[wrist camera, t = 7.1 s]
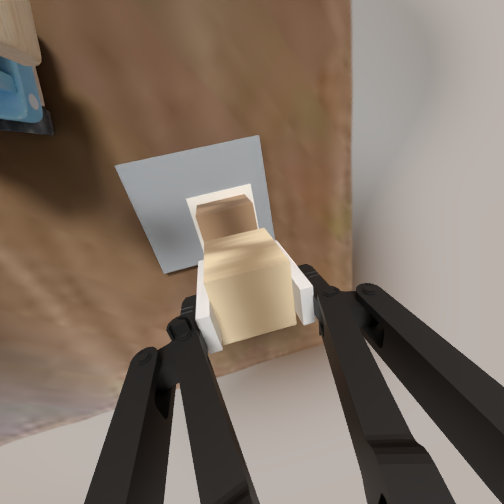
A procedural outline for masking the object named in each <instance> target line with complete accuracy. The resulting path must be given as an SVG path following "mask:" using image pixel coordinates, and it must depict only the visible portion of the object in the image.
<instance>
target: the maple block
mask: <svg viewBox="0 0 504 504" xmlns="http://www.w3.org/2000/svg"><path fill="white" fill-rule="evenodd" d="M291 277H292V275H291V266H290V260H289V259H288V258H287V257H286V255H285V254H284V253H283V251H282V250H281V249H280V247H279V246H278V245H277V243H276V242H275V241H274V240H273V238H272V237H271V236H270V234H269V233H268V232H267V230H266V229H265V228H261V229H256V230H252V231H248V232H244V233H239V234H235V235H231V236H227V237H222V238H218V239H214V240H209V241H205V242H204V280H203V283H204V286H205V289H206V292H207V295H208V298H209V301H210V303H211V306H212V309H213V312H214V314H215V317H216V320H217V323H218V325H219V328H220V331H221V337H222V340H223V343H224V345H226V344H230V343H233V342H237V341H240V340H244V339H247V338H251V337H254V336H258V335H261V334H265V333H268V332H272V331H275V330H279V329H282V328H286V327H289V326H293V325H296V314H295V305H294V296H293V288H292V280H291Z"/></svg>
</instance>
